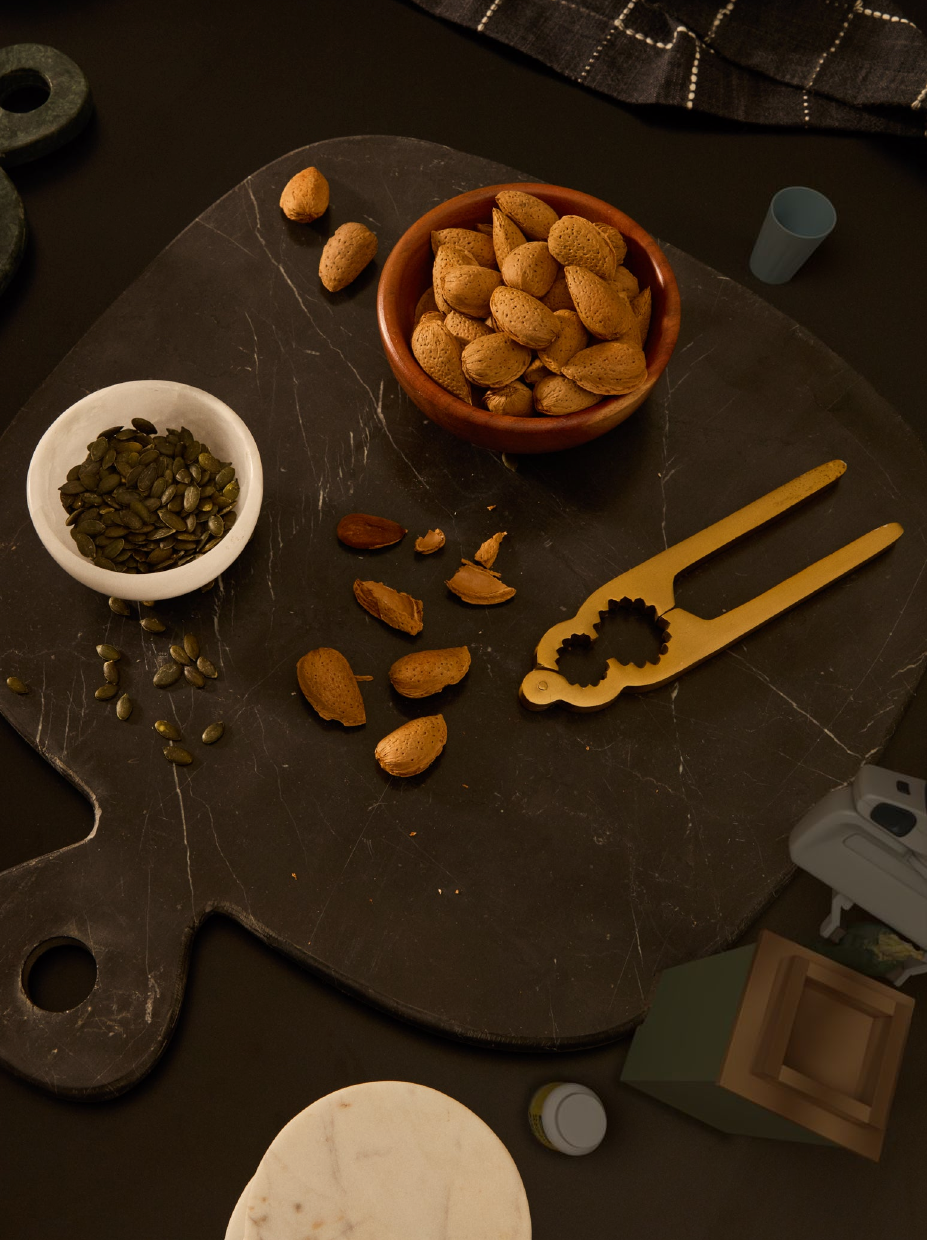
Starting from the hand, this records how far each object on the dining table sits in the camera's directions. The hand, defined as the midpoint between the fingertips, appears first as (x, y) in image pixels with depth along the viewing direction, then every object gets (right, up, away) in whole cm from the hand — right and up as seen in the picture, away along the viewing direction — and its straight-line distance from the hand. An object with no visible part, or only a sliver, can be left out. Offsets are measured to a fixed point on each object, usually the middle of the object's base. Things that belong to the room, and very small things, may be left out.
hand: (857, 957), depth 98 cm
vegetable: (0, -4, +11) cm, 12 cm away
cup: (+9, +69, +46) cm, 83 cm away
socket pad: (-11, +1, -19) cm, 22 cm away
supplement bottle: (-25, -16, +4) cm, 30 cm away
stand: (-13, -11, +7) cm, 18 cm away
